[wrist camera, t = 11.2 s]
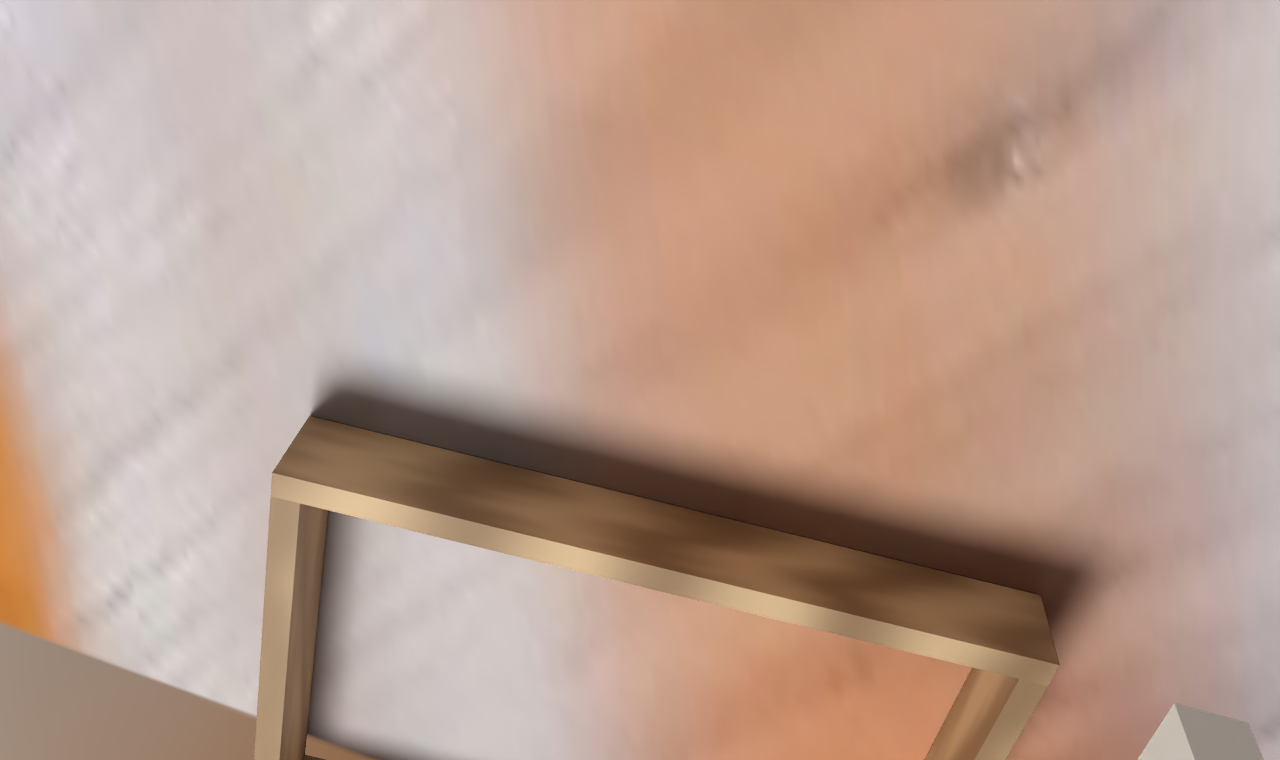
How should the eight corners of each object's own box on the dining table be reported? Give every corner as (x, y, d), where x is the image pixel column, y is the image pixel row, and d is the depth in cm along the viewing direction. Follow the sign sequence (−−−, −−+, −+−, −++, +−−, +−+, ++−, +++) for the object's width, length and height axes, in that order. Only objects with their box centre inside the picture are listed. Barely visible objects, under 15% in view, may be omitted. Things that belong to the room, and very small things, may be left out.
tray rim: (1040, 595, 42) (1059, 665, 39) (872, 906, 52) (877, 980, 49) (309, 415, 41) (272, 472, 38) (281, 764, 51) (249, 830, 48)
